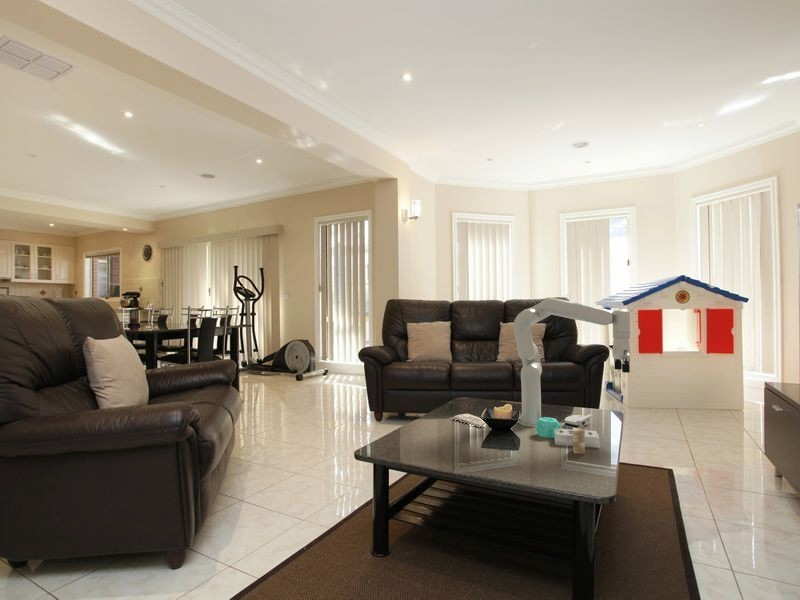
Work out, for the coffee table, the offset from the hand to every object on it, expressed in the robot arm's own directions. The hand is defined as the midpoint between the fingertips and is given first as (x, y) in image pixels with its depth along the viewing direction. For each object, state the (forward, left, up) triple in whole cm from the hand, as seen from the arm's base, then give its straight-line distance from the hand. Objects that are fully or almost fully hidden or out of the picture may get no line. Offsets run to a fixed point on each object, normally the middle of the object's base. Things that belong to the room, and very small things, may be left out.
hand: (621, 370), depth 213 cm
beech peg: (-23, -37, -30) cm, 53 cm away
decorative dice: (-35, -16, -30) cm, 48 cm away
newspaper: (-72, -1, -30) cm, 78 cm away
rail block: (-23, -24, -30) cm, 45 cm away
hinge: (-15, +5, -27) cm, 32 cm away
